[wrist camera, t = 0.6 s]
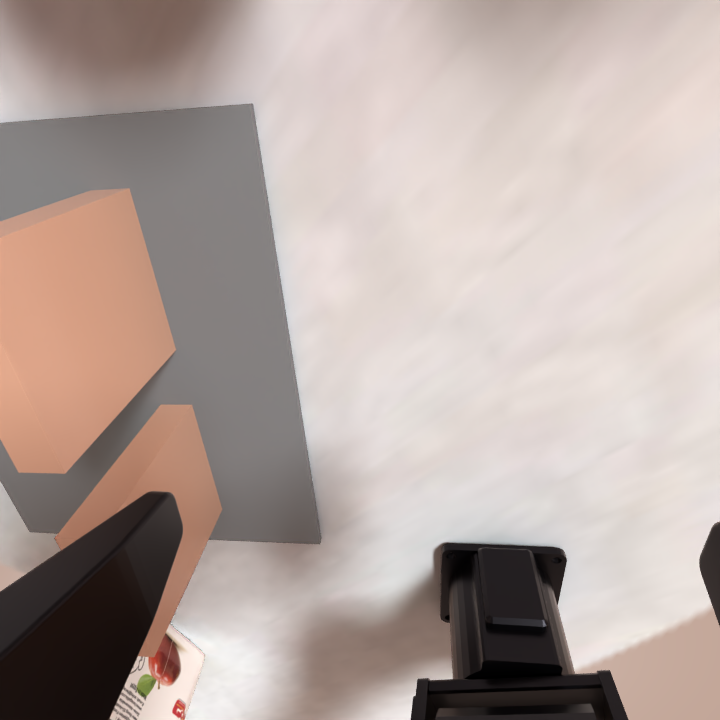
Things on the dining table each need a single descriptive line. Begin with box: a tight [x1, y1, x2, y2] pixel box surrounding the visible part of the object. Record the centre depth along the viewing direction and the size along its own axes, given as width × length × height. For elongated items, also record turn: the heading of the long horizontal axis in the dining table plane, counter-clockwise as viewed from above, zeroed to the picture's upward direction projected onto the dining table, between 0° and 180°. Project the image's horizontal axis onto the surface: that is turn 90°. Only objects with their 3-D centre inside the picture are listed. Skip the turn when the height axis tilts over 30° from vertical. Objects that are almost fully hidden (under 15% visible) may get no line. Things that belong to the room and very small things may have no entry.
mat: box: [0, 104, 321, 544], centre depth 23 cm, size 22×18×1 cm
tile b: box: [0, 188, 176, 474], centre depth 17 cm, size 7×2×8 cm, turn 4°
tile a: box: [55, 405, 222, 657], centre depth 22 cm, size 7×2×8 cm, turn 4°
